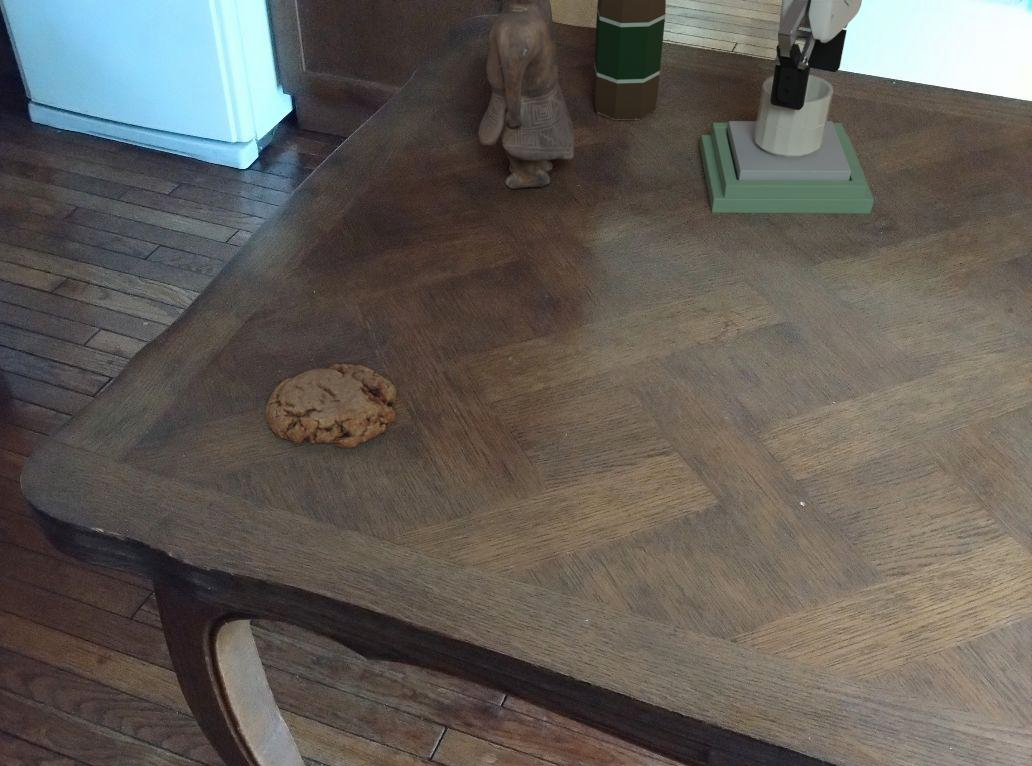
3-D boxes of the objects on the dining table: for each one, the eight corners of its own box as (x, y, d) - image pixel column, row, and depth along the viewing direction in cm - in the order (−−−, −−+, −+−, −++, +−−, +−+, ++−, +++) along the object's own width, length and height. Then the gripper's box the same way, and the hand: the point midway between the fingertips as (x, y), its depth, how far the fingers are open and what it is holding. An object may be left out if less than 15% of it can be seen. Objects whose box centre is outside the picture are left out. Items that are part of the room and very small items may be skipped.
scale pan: (829, 133, 114) (832, 121, 113) (848, 183, 107) (851, 171, 106) (726, 132, 115) (728, 120, 114) (738, 183, 107) (740, 170, 106)
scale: (845, 148, 117) (851, 122, 115) (870, 214, 107) (877, 186, 105) (699, 148, 118) (702, 122, 116) (711, 213, 108) (715, 185, 106)
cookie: (254, 399, 89) (248, 371, 87) (373, 366, 92) (370, 337, 89) (289, 473, 83) (283, 444, 80) (415, 434, 85) (413, 405, 83)
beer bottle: (610, 128, 122) (626, -109, 104) (579, 101, 126) (589, -129, 109) (669, 114, 124) (694, -120, 106) (636, 88, 129) (655, -140, 111)
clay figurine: (490, 147, 119) (485, -104, 101) (579, 152, 118) (590, -102, 99) (471, 206, 110) (461, -58, 92) (567, 211, 109) (576, -55, 91)
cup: (814, 129, 112) (826, 72, 108) (825, 160, 107) (838, 102, 103) (750, 129, 112) (759, 72, 108) (758, 160, 108) (768, 102, 103)
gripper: (845, -73, 87) (809, 130, 99) (911, -130, 96) (871, 62, 109) (758, -85, 90) (734, 114, 102) (831, -138, 99) (801, 49, 112)
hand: (805, 87), depth 105 cm, fingers open, 9 cm apart
